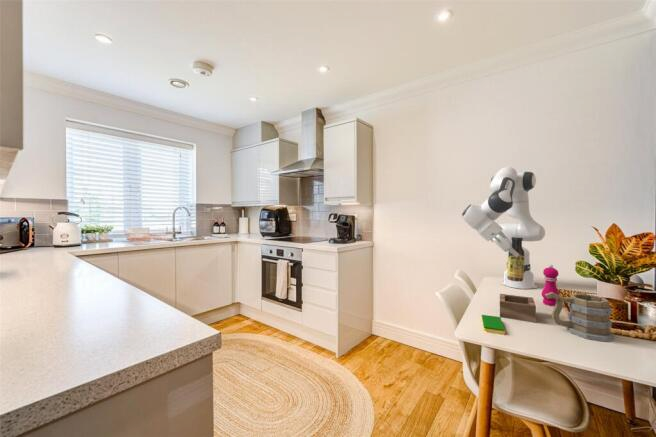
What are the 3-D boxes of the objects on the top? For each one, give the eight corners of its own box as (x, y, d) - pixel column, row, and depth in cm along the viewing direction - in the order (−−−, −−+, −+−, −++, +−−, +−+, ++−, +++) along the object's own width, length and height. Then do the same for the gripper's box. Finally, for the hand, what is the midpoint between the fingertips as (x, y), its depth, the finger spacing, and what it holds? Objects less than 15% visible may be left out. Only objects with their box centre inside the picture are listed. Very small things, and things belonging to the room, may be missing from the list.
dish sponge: (483, 332, 109) (483, 326, 109) (481, 319, 121) (481, 314, 121) (504, 335, 106) (504, 329, 106) (500, 322, 118) (500, 316, 118)
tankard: (602, 329, 108) (603, 292, 108) (619, 344, 97) (620, 302, 96) (540, 321, 117) (540, 287, 116) (549, 334, 106) (549, 295, 105)
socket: (499, 307, 134) (499, 293, 133) (532, 312, 127) (532, 297, 126) (499, 316, 123) (499, 301, 122) (535, 322, 116) (535, 306, 115)
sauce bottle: (509, 281, 123) (509, 237, 122) (505, 278, 128) (505, 236, 128) (526, 282, 120) (526, 237, 120) (522, 279, 126) (522, 236, 126)
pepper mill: (553, 301, 140) (553, 263, 139) (563, 306, 133) (564, 266, 132) (538, 301, 141) (538, 263, 140) (548, 306, 134) (548, 266, 133)
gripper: (497, 229, 119) (525, 253, 114) (498, 226, 136) (522, 247, 131) (485, 239, 121) (512, 263, 116) (487, 235, 138) (511, 255, 133)
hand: (517, 254), depth 124 cm, fingers closed on sauce bottle, 6 cm apart
